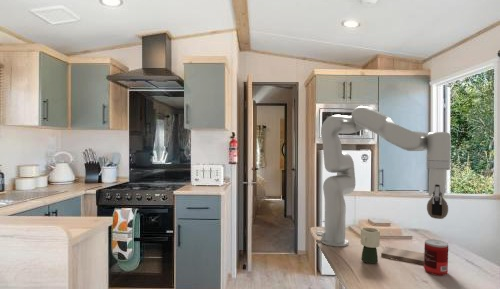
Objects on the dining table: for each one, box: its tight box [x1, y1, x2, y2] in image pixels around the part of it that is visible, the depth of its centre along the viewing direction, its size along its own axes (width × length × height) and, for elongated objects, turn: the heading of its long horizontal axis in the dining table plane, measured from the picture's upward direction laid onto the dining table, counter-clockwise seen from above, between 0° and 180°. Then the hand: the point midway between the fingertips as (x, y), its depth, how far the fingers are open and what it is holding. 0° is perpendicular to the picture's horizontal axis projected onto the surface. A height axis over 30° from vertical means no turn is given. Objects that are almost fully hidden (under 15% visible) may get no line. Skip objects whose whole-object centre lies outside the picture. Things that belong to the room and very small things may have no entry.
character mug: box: [359, 226, 381, 264], centre depth 130 cm, size 11×7×13 cm, turn 133°
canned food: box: [423, 238, 449, 277], centre depth 121 cm, size 8×8×11 cm
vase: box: [426, 194, 449, 220], centre depth 121 cm, size 7×7×9 cm
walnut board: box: [380, 246, 424, 266], centre depth 136 cm, size 16×10×2 cm, turn 58°
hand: (437, 212), depth 121 cm, fingers closed on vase, 6 cm apart
